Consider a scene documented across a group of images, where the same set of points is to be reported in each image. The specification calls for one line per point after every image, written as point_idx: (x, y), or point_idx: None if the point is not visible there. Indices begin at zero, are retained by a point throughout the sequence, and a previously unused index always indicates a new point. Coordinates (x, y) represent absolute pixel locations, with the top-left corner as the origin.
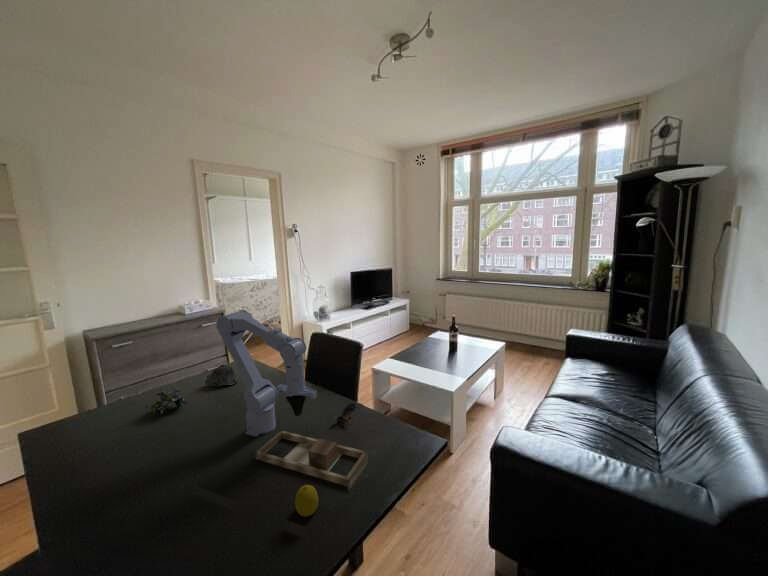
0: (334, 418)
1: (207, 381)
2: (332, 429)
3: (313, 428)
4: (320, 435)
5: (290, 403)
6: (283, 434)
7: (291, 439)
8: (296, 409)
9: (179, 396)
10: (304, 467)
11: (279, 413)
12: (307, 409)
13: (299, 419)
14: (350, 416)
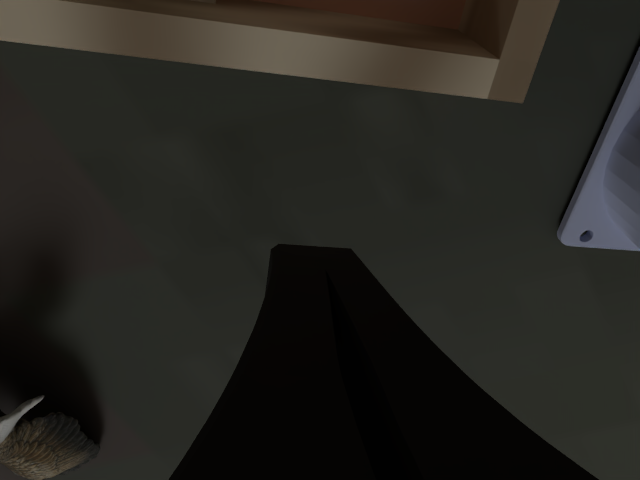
0: (13, 413)
1: None
2: (60, 314)
3: (247, 286)
4: (115, 217)
5: (534, 468)
6: (468, 50)
7: (340, 23)
8: (292, 336)
9: None
10: None
11: (630, 370)
12: None
13: None
14: (14, 472)
